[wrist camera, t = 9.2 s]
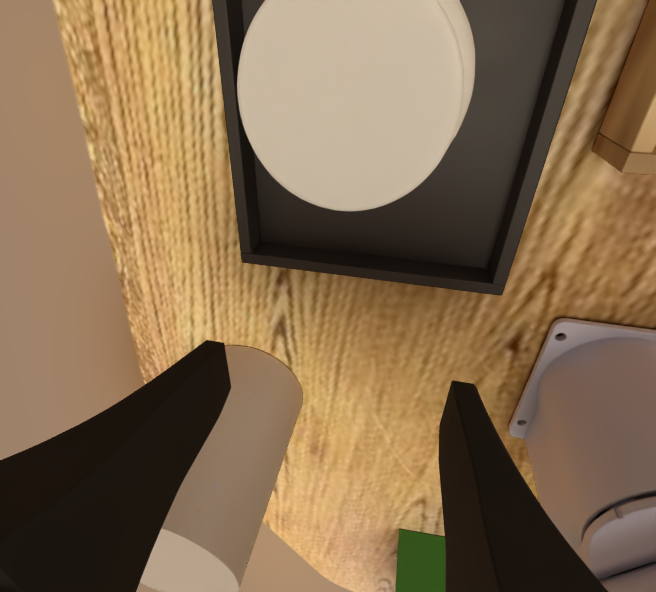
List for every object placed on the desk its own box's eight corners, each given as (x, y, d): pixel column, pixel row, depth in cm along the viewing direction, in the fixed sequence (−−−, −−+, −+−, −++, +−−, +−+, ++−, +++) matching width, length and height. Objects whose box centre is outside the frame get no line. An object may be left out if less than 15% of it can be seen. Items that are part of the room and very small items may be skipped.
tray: (496, 275, 21) (502, 296, 19) (254, 246, 23) (241, 262, 21) (658, -261, 11) (698, -312, 9) (212, -224, 13) (181, -260, 11)
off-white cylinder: (190, 336, 28) (62, 501, 18) (302, 356, 27) (229, 544, 17) (206, 413, 32) (110, 577, 23) (302, 433, 31) (245, 616, 21)
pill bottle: (290, 73, 17) (163, 112, 9) (386, -66, 14) (328, -199, 6) (383, 168, 18) (348, 276, 10) (490, 60, 15) (560, 93, 7)
